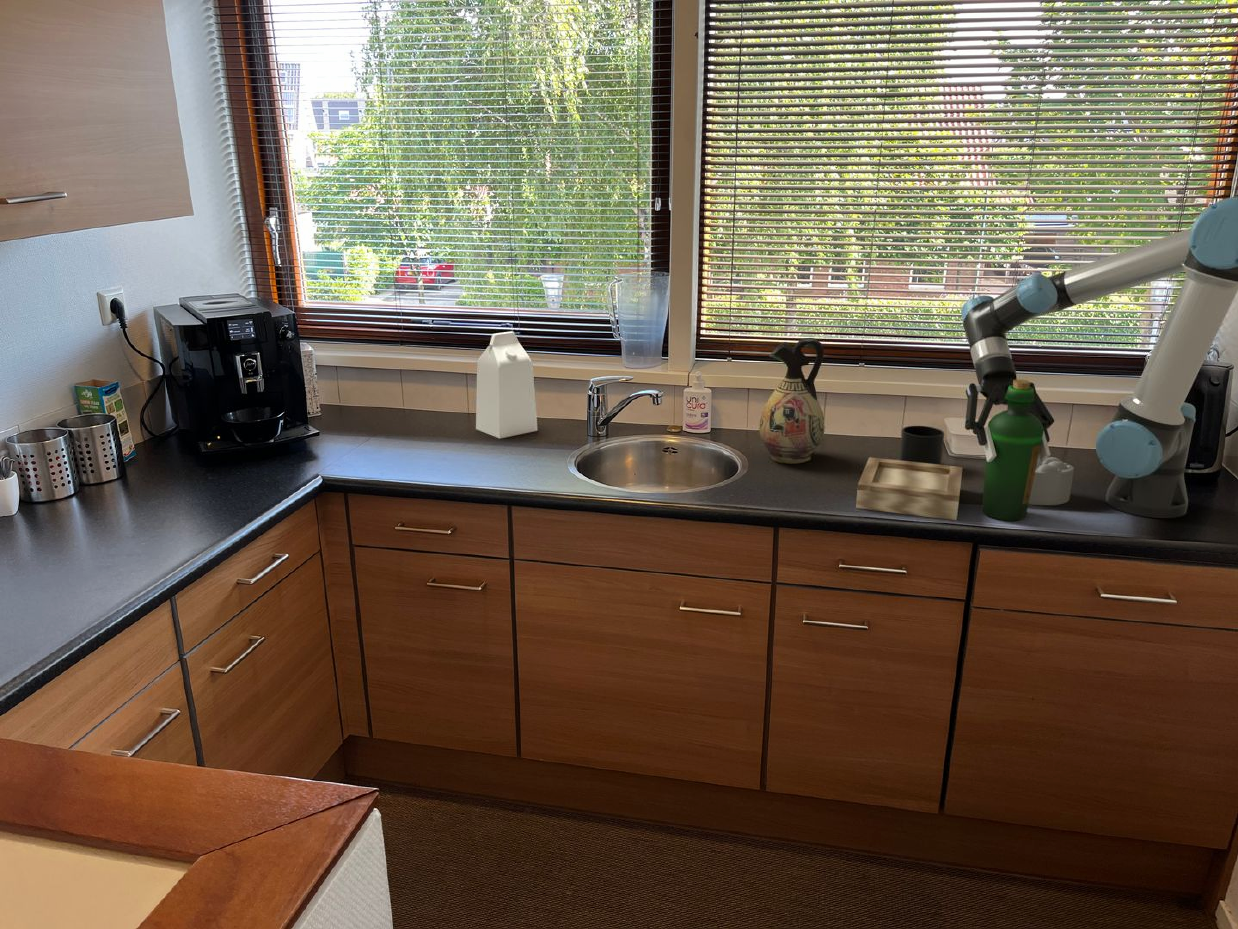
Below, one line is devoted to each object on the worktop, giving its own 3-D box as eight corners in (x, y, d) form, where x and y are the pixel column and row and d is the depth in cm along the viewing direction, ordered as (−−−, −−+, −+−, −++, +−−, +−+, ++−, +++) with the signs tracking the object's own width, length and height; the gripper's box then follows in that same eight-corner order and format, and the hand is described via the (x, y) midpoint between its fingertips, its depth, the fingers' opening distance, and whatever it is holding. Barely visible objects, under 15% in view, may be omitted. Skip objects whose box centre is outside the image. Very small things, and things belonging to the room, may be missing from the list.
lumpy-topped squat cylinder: (999, 488, 214) (1004, 451, 211) (1059, 489, 213) (1065, 452, 210) (1014, 504, 204) (1019, 465, 201) (1077, 506, 203) (1083, 467, 201)
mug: (929, 458, 234) (932, 422, 232) (945, 474, 223) (950, 436, 220) (890, 458, 234) (893, 422, 231) (905, 474, 223) (909, 436, 220)
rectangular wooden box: (959, 489, 213) (962, 467, 211) (956, 520, 195) (959, 496, 193) (867, 478, 219) (869, 457, 218) (855, 507, 202) (857, 484, 200)
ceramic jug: (754, 466, 228) (760, 340, 219) (761, 447, 242) (767, 329, 233) (827, 471, 224) (837, 344, 215) (830, 452, 239) (839, 332, 229)
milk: (513, 421, 265) (510, 327, 257) (537, 430, 257) (535, 333, 249) (476, 429, 258) (471, 332, 250) (499, 438, 249) (495, 339, 241)
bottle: (1043, 519, 195) (1063, 385, 187) (1002, 527, 192) (1020, 389, 183) (1005, 502, 205) (1023, 373, 196) (965, 509, 201) (981, 377, 192)
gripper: (1038, 373, 206) (1065, 465, 196) (933, 374, 204) (955, 468, 194) (1054, 353, 199) (1083, 448, 189) (946, 354, 197) (970, 450, 187)
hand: (1018, 458), depth 191 cm, fingers closed on bottle, 10 cm apart
